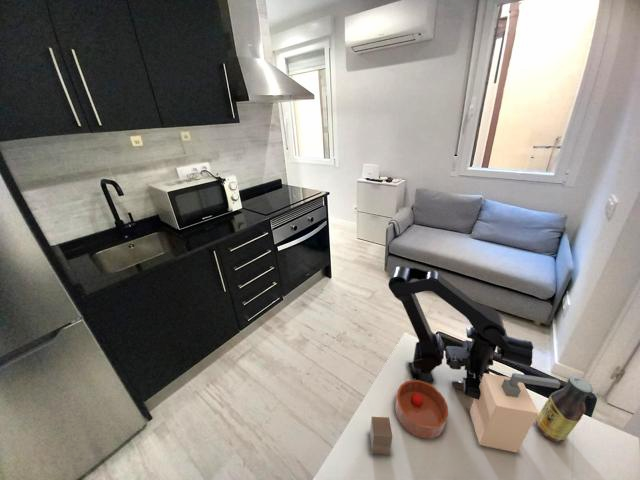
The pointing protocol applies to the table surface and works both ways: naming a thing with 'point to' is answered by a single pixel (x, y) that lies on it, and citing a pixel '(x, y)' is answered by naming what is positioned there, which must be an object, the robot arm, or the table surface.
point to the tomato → (417, 399)
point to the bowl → (421, 409)
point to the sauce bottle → (564, 409)
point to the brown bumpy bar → (458, 384)
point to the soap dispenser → (505, 410)
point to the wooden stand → (380, 435)
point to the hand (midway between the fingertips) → (468, 386)
